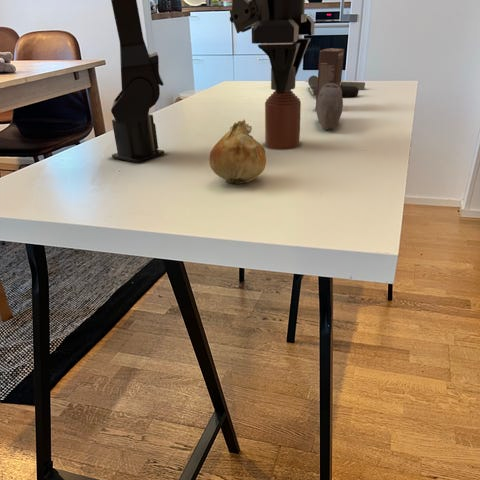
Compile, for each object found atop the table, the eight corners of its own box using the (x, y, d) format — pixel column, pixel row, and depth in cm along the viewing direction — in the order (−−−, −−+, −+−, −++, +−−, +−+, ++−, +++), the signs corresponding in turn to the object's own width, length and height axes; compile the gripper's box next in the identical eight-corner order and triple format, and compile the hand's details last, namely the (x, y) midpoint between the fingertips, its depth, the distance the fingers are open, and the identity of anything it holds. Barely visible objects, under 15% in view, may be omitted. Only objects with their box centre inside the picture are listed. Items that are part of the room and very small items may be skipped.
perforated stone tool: (340, 134, 89) (343, 93, 85) (311, 134, 90) (313, 93, 86) (342, 118, 101) (345, 81, 98) (317, 118, 102) (319, 82, 99)
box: (334, 111, 107) (338, 50, 101) (314, 110, 109) (317, 50, 102) (340, 106, 112) (345, 47, 105) (321, 106, 114) (325, 48, 107)
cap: (293, 86, 81) (293, 65, 79) (297, 89, 78) (297, 68, 76) (269, 87, 81) (269, 66, 79) (272, 90, 78) (272, 69, 76)
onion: (202, 178, 70) (197, 120, 65) (252, 170, 72) (251, 113, 68) (222, 194, 64) (218, 130, 59) (275, 184, 66) (276, 123, 62)
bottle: (288, 150, 81) (289, 74, 75) (258, 146, 84) (257, 73, 78) (305, 142, 85) (308, 70, 79) (276, 139, 88) (277, 69, 82)
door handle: (360, 76, 137) (304, 74, 137) (375, 86, 120) (311, 84, 120) (358, 89, 139) (303, 87, 139) (372, 101, 122) (309, 99, 122)
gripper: (251, -22, 80) (252, 81, 89) (214, -25, 66) (221, 98, 74) (317, -25, 78) (312, 81, 86) (294, -30, 63) (291, 99, 71)
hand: (284, 89), depth 80 cm, fingers open, 6 cm apart
